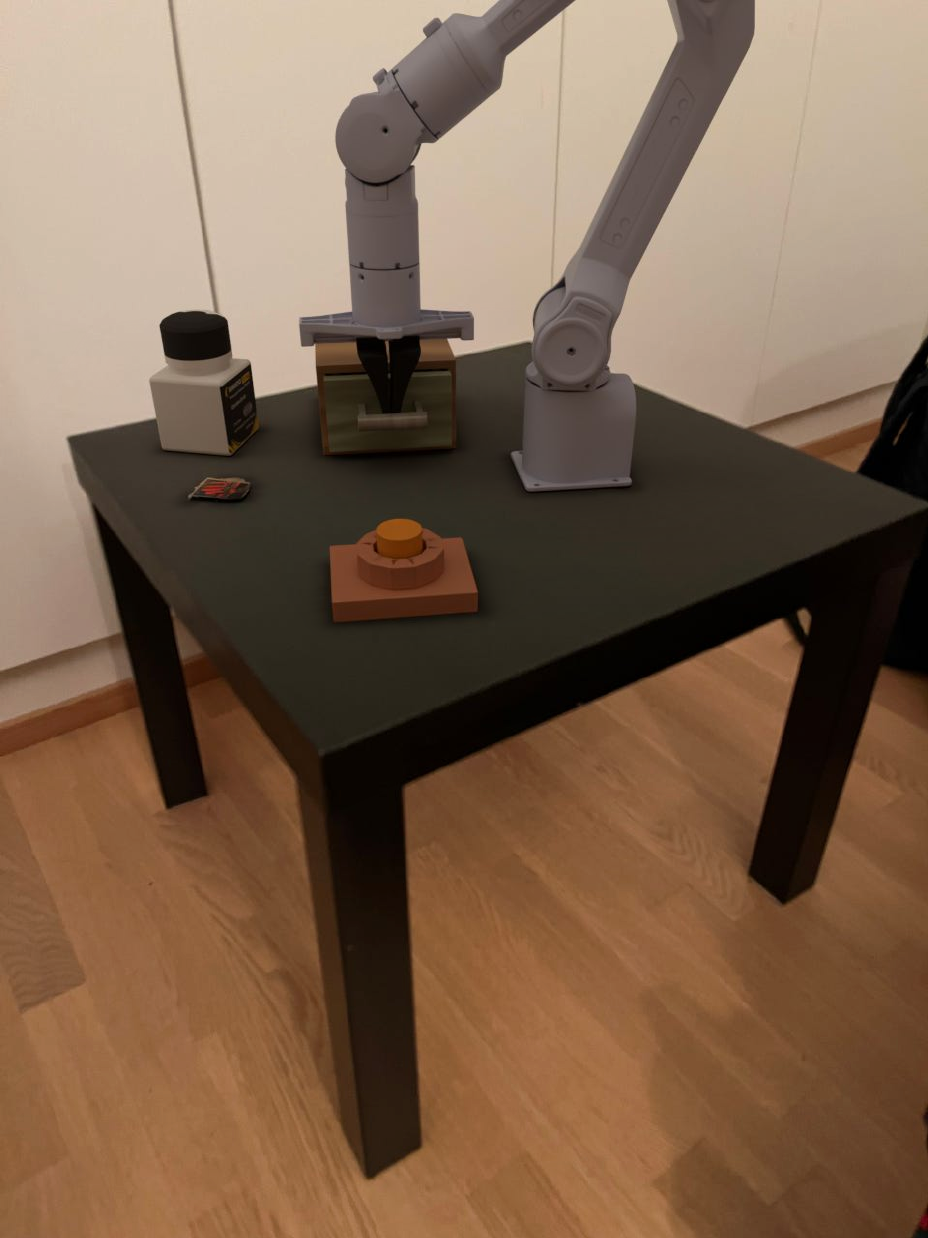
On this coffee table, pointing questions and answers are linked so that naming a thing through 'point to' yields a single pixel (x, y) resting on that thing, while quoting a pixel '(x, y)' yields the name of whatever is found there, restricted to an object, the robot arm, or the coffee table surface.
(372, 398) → the drawer
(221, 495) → the matchbox
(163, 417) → the medicine bottle
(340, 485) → the coffee table surface
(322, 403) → the cabinet
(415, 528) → the button
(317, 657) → the coffee table surface
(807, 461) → the coffee table surface
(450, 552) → the button box
